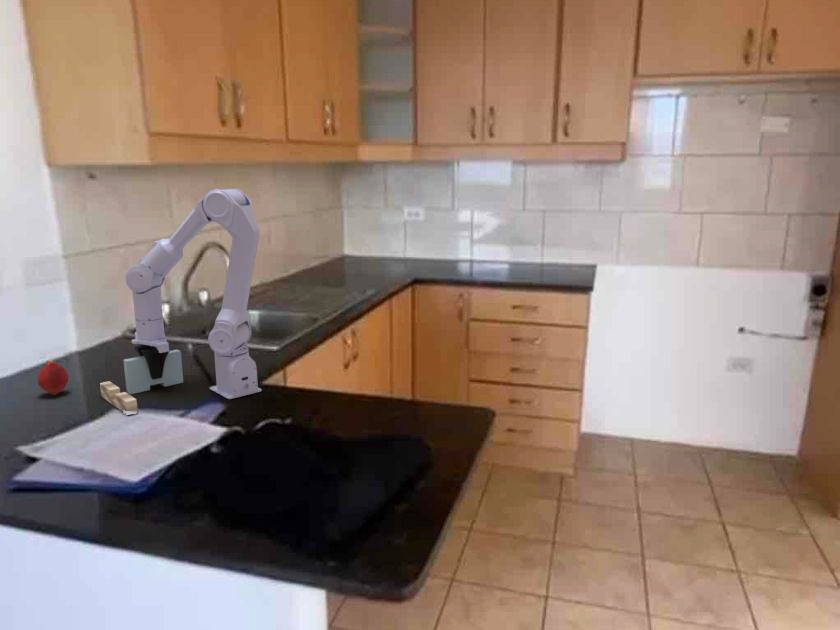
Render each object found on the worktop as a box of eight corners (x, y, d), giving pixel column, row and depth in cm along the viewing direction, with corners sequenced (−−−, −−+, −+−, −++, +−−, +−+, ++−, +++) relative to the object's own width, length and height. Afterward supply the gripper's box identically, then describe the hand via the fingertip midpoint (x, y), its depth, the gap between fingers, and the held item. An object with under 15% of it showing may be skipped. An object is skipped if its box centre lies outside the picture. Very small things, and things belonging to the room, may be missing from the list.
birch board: (137, 413, 129) (136, 399, 129) (127, 416, 128) (126, 402, 127) (110, 394, 141) (109, 381, 140) (101, 396, 139) (99, 383, 139)
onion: (63, 388, 144) (59, 354, 143) (74, 394, 141) (70, 359, 139) (35, 395, 140) (30, 360, 138) (46, 401, 136) (41, 365, 135)
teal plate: (183, 382, 148) (180, 351, 147) (130, 394, 140) (126, 361, 139) (179, 380, 150) (177, 349, 148) (126, 392, 142) (123, 359, 140)
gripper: (118, 315, 144) (124, 373, 147) (143, 326, 134) (149, 388, 137) (150, 311, 149) (155, 367, 152) (176, 321, 139) (181, 381, 142)
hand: (154, 377), depth 145 cm, fingers closed on teal plate, 2 cm apart
